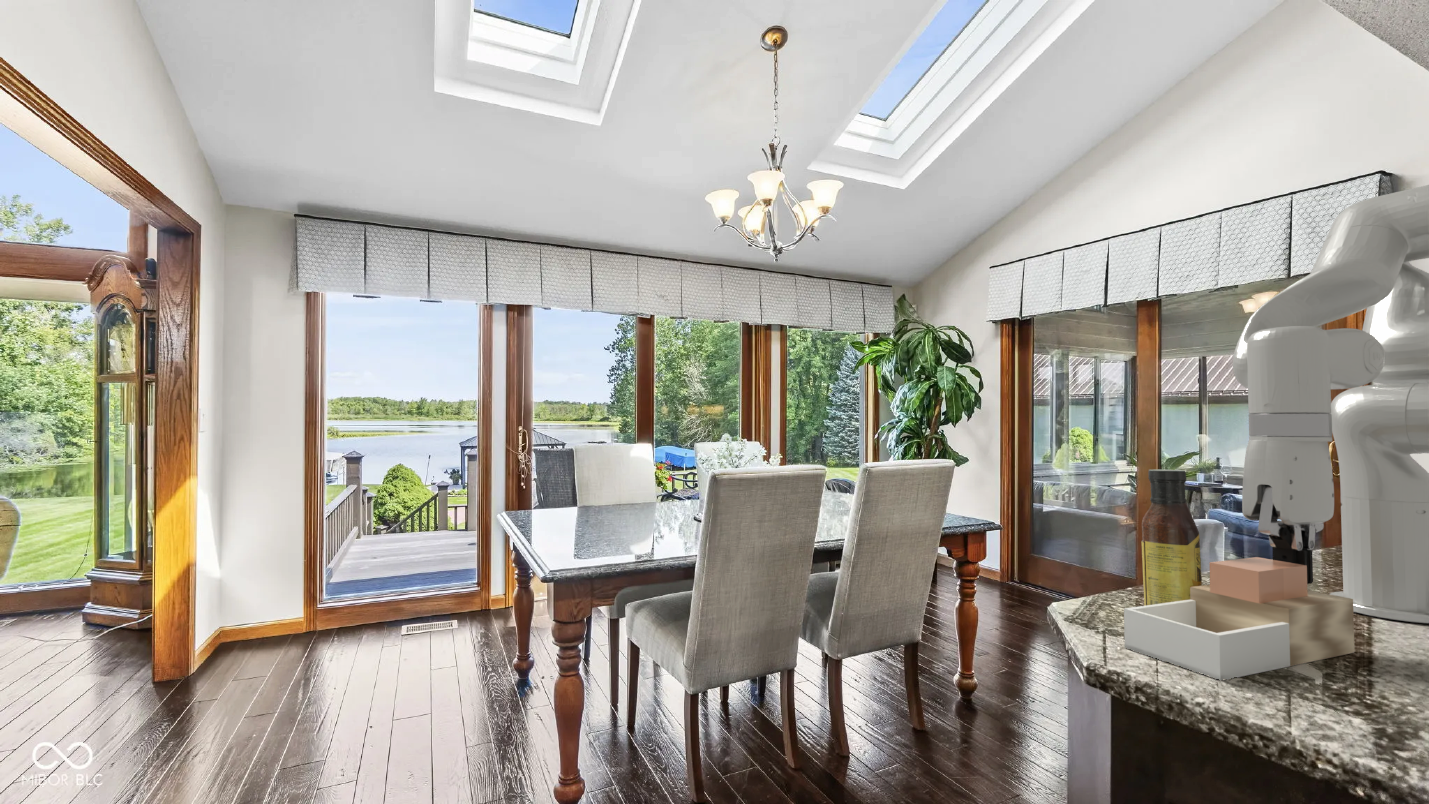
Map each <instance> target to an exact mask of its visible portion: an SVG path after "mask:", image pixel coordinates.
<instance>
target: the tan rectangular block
mask: <svg viewBox="0 0 1429 804" xmlns="http://www.w3.org/2000/svg"><path fill="white" fill-rule="evenodd" d="M1307 592H1308V596H1305V597H1298V598H1291V599H1285V600H1279V601H1272V602H1266V603H1255V602H1250V601H1246V600H1242V599H1237V598H1233V597H1229V596H1224V595H1220V594H1215V593H1211V592H1210V584H1205V585H1204V584H1202V586H1194V587H1190V599H1191V600H1195V601H1196V627H1197V628H1201V629H1204V630H1208V631H1211V632H1215V633H1220V632H1226V631H1232V630H1237V629H1243V628H1249V627H1255V626H1261V625H1267V624H1273V623H1279V622H1285V623H1289V639H1290V666H1289V667H1292V666H1298V665H1302V664H1306V663H1311V662H1317V661H1322V660H1325V659H1331V658H1334V657H1340V656H1344V655H1348V654H1354V653H1355V649H1356V648H1355V624H1354V623H1355V621H1354V612H1353V599H1350V598H1345V597H1340V596H1335V595H1330V593H1324V592H1320V591H1319V592H1318V591H1314V590H1310V589H1307Z"/></svg>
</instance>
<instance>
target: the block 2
mask: <svg viewBox="0 0 1429 804" xmlns="http://www.w3.org/2000/svg"><path fill="white" fill-rule="evenodd" d="M1234 560H1238V561H1244V562H1250V563H1255V564H1261V565H1266V566H1272V567H1278V568H1283V577H1284V600H1285V599H1291V598H1298V597H1305V596H1308V592H1307V590H1308V584H1307V565H1301V564H1295V563H1289V562H1283V561H1277V560H1273V559H1270V558H1265V557H1259V556H1255V557H1246V558H1236V559H1234Z"/></svg>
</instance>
